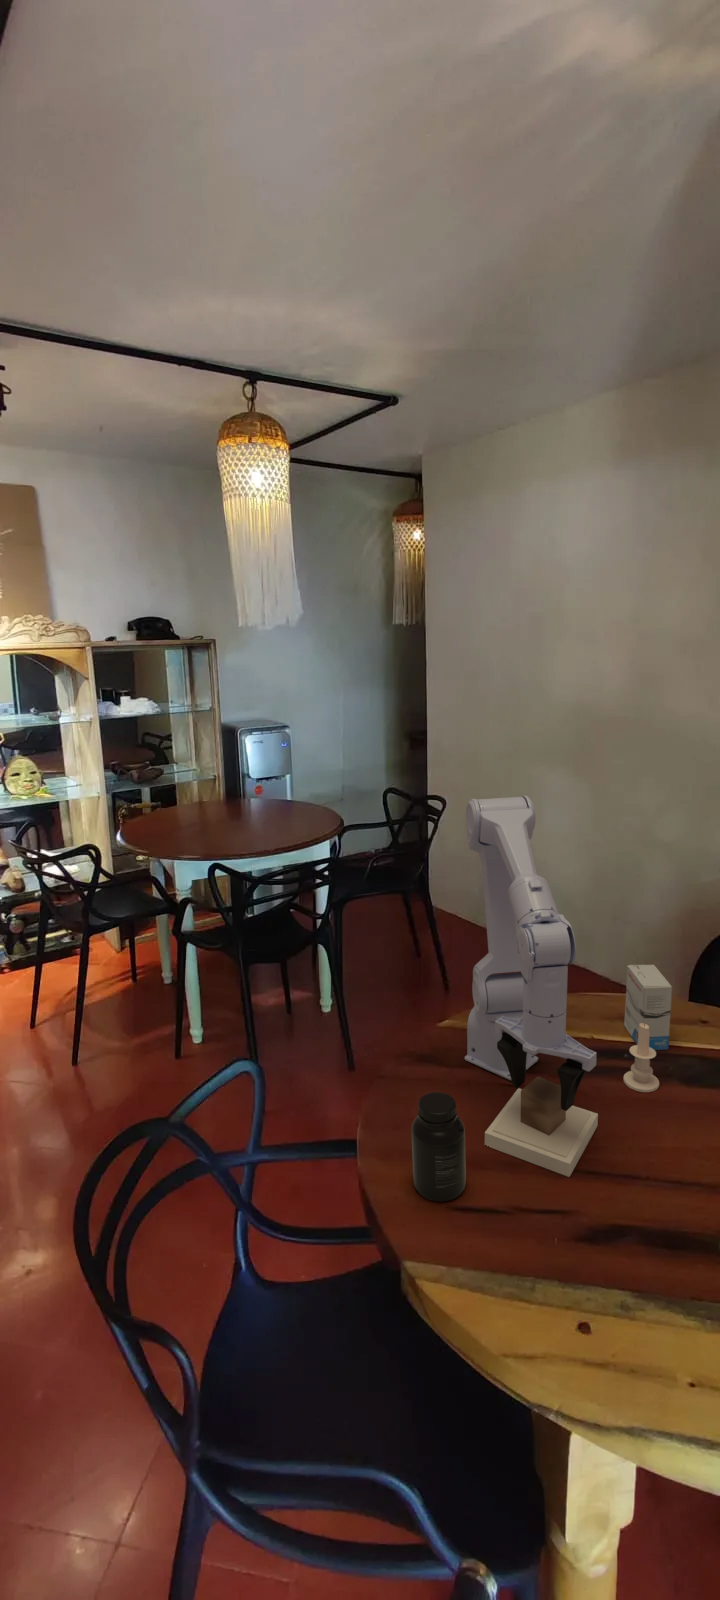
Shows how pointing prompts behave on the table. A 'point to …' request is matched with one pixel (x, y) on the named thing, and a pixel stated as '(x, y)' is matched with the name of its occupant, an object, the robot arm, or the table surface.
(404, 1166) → the table surface
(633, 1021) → the ink box
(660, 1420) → the table surface
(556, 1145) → the plate
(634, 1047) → the candle
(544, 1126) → the block
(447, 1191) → the supplement bottle
